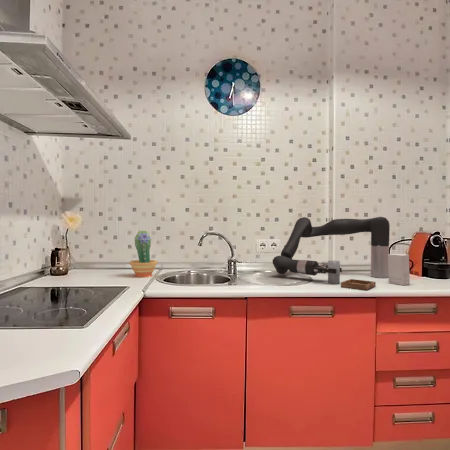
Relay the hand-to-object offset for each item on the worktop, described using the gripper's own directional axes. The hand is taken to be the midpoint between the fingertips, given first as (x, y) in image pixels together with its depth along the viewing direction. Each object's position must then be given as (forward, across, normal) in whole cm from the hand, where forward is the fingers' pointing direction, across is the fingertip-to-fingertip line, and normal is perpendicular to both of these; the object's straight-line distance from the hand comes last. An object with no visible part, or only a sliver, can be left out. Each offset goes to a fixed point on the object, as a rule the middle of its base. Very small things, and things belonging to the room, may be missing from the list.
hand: (338, 270), depth 184 cm
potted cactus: (-92, -48, +7) cm, 104 cm away
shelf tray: (+10, -2, +6) cm, 13 cm away
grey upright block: (-3, 0, +6) cm, 7 cm away
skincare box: (+22, +20, +7) cm, 31 cm away
